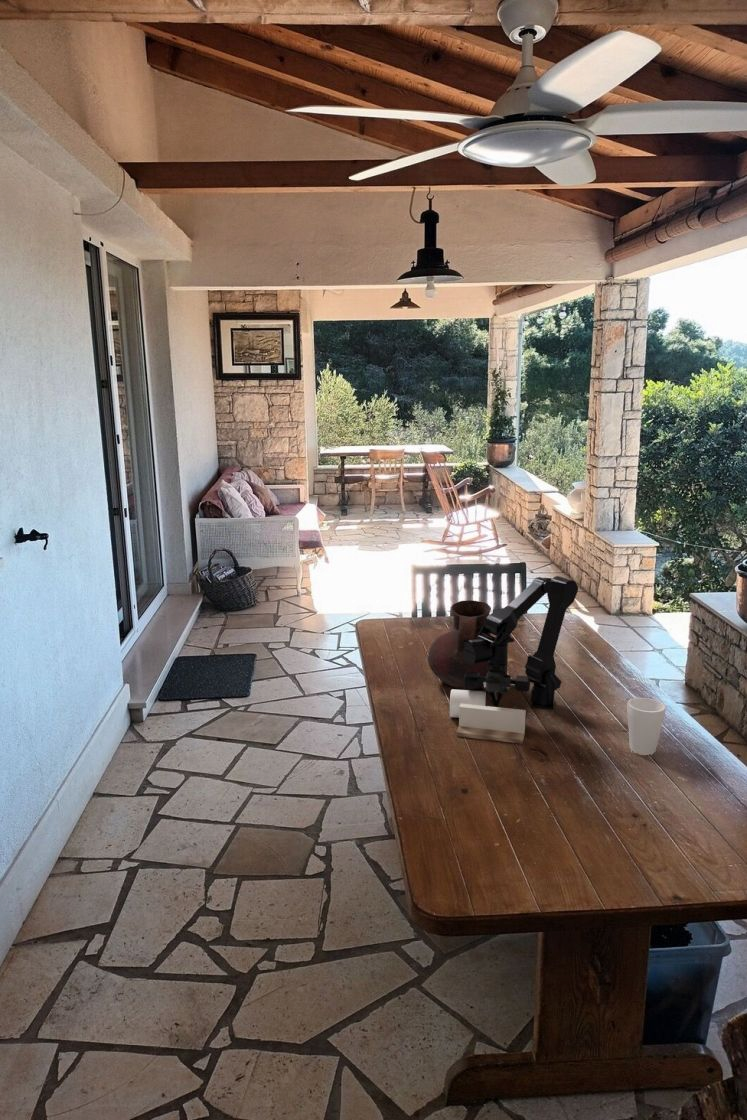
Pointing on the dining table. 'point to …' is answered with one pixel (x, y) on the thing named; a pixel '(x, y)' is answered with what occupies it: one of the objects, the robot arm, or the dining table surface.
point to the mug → (465, 700)
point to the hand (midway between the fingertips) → (495, 708)
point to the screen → (491, 723)
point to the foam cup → (644, 724)
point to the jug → (459, 644)
